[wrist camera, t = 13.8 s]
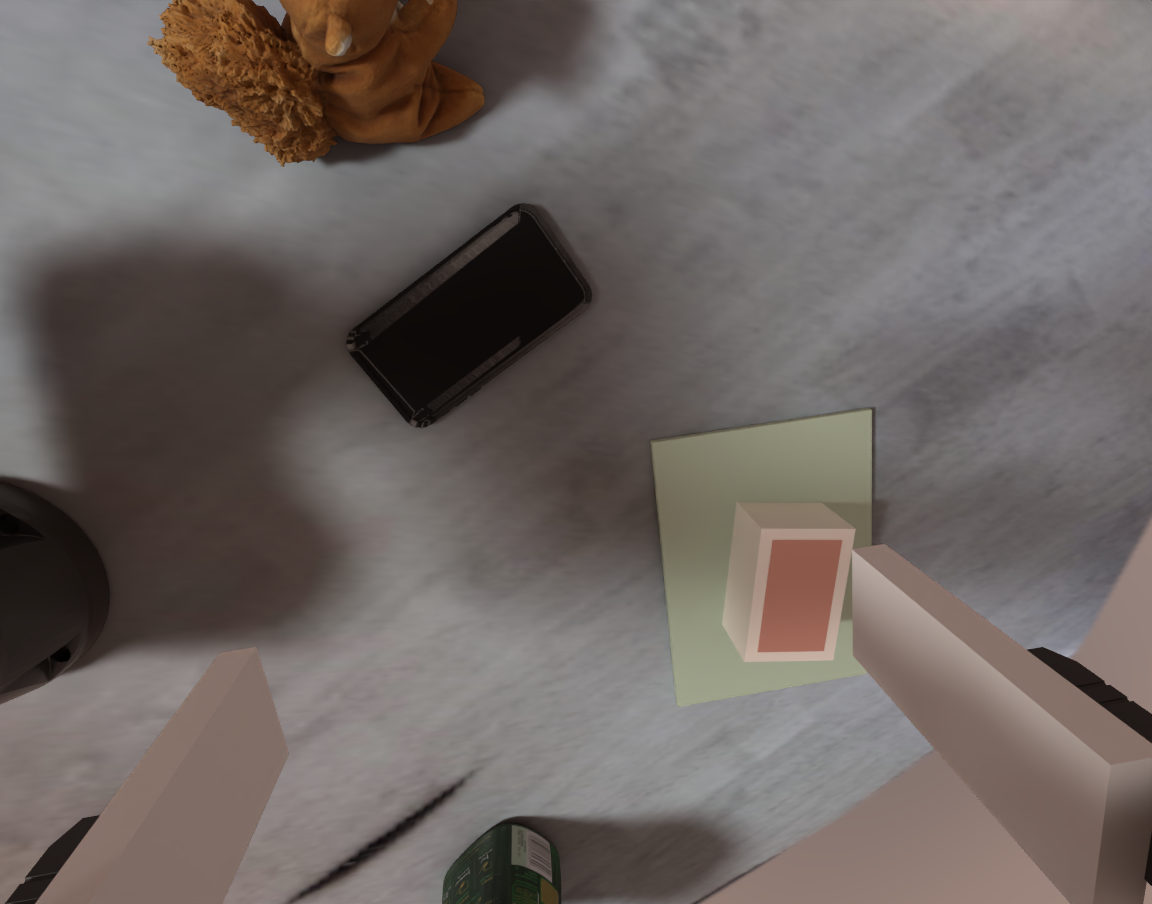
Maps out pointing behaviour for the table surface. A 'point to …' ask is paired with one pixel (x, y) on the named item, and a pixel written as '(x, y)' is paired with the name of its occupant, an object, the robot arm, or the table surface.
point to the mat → (705, 527)
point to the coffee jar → (505, 869)
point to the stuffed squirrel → (320, 70)
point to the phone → (470, 316)
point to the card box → (786, 581)
